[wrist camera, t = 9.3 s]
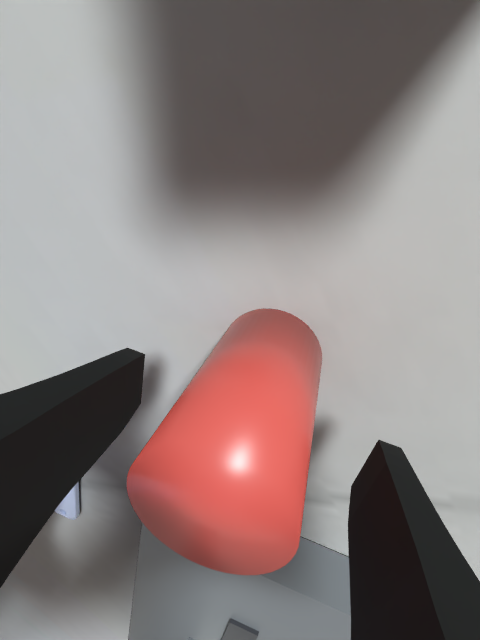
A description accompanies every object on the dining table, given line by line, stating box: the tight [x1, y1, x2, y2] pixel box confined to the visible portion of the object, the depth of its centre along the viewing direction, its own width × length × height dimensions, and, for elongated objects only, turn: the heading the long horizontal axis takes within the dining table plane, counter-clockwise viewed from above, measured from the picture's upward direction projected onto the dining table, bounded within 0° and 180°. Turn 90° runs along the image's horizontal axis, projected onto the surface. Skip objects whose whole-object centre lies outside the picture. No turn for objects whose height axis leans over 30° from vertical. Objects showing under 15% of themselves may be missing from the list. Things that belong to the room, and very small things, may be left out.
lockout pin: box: [127, 309, 322, 575], centre depth 10 cm, size 4×4×7 cm
